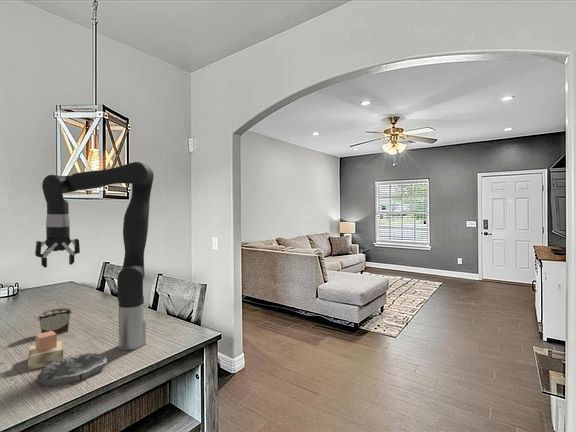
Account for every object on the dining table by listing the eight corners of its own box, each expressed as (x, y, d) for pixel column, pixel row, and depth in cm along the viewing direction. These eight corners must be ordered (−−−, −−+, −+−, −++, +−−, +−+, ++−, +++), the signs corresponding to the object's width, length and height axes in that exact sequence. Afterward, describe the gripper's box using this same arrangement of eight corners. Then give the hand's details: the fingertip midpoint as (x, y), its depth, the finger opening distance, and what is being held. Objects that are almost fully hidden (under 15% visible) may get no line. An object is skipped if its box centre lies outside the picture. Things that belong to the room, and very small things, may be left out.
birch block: (62, 352, 123) (62, 339, 123) (63, 362, 115) (63, 349, 114) (30, 359, 117) (29, 346, 117) (28, 371, 109) (27, 356, 109)
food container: (67, 327, 146) (67, 306, 146) (71, 330, 142) (71, 309, 142) (34, 335, 137) (34, 312, 136) (38, 339, 133) (37, 316, 133)
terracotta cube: (51, 343, 119) (51, 330, 119) (56, 347, 116) (56, 333, 116) (35, 348, 115) (35, 334, 115) (40, 352, 112) (40, 338, 112)
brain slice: (95, 355, 121) (95, 347, 120) (112, 371, 109) (112, 362, 109) (30, 375, 106) (30, 367, 106) (42, 396, 95) (42, 386, 94)
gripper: (37, 226, 117) (38, 269, 117) (81, 225, 128) (82, 264, 128) (33, 225, 122) (33, 266, 122) (75, 224, 132) (76, 262, 133)
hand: (58, 265), depth 125 cm, fingers open, 8 cm apart
